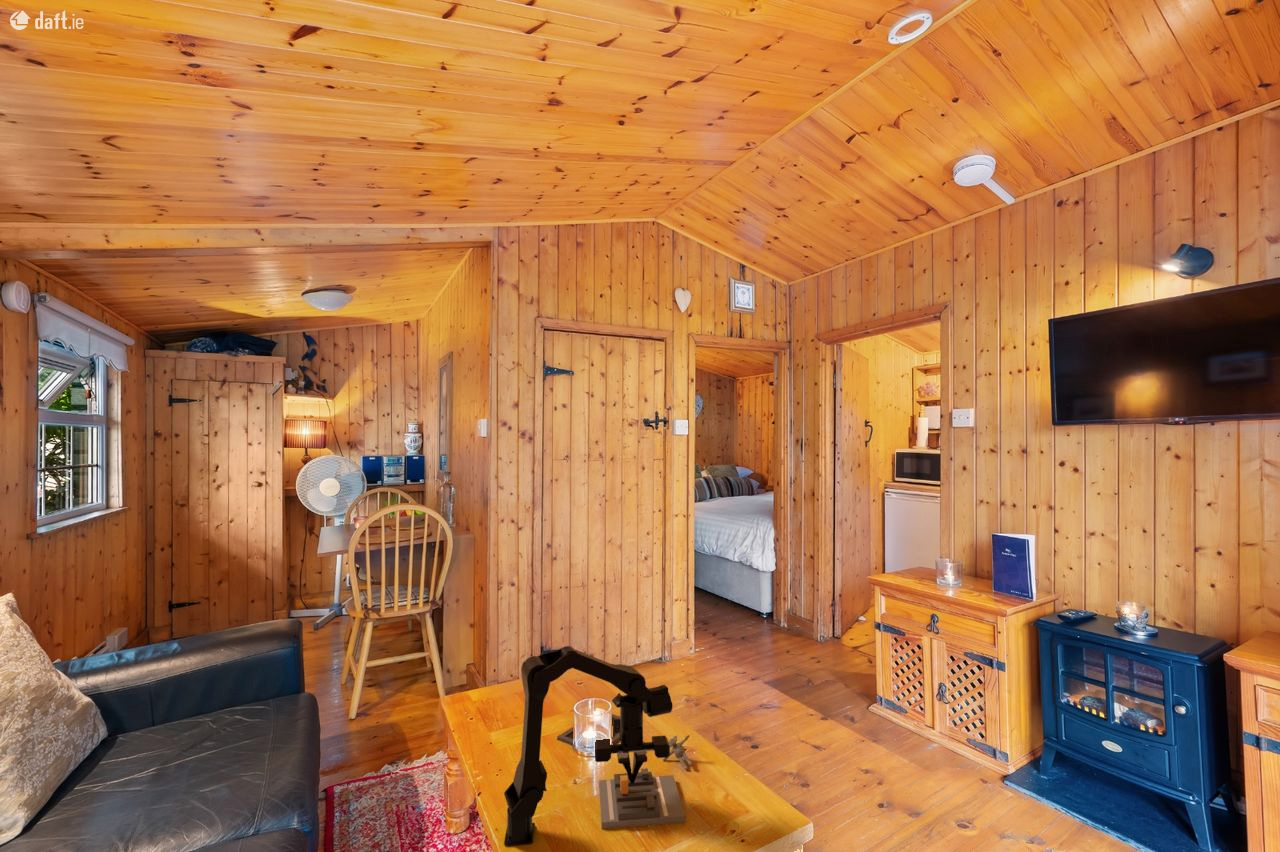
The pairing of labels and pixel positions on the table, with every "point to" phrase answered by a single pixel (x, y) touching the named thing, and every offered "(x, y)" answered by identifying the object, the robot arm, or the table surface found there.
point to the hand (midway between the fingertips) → (632, 782)
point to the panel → (642, 822)
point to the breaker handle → (624, 784)
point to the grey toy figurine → (679, 751)
